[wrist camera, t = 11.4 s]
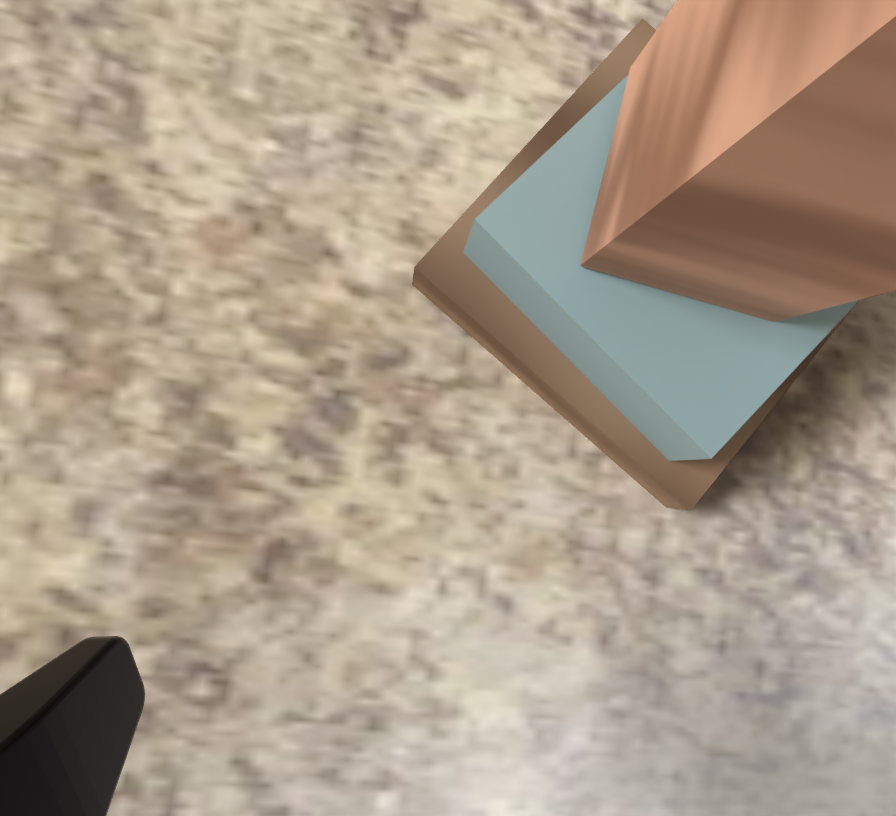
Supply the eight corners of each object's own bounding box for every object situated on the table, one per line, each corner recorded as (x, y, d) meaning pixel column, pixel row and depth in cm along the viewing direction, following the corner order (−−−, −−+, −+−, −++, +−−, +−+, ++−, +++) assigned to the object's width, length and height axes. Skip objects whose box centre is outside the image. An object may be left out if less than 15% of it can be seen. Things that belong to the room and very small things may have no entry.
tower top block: (669, 460, 19) (711, 458, 17) (463, 252, 19) (474, 219, 17) (854, 264, 20) (919, 235, 18) (658, 67, 20) (696, 10, 18)
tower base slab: (656, 506, 21) (691, 510, 19) (411, 290, 21) (414, 267, 19) (845, 271, 23) (901, 246, 20) (614, 68, 23) (642, 18, 20)
